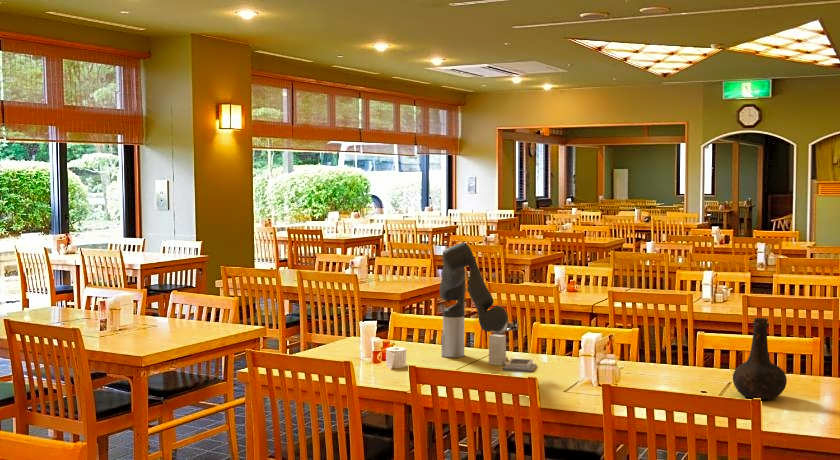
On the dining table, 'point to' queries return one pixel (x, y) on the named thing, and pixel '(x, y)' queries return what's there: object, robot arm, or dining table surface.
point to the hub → (520, 365)
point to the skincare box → (497, 349)
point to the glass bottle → (759, 368)
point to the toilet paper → (395, 357)
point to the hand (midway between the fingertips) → (501, 327)
